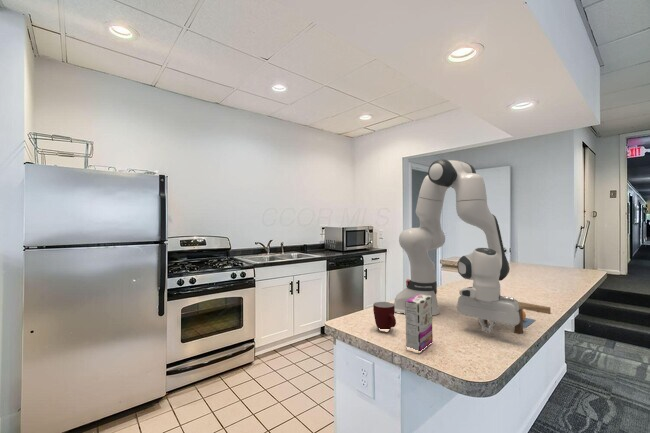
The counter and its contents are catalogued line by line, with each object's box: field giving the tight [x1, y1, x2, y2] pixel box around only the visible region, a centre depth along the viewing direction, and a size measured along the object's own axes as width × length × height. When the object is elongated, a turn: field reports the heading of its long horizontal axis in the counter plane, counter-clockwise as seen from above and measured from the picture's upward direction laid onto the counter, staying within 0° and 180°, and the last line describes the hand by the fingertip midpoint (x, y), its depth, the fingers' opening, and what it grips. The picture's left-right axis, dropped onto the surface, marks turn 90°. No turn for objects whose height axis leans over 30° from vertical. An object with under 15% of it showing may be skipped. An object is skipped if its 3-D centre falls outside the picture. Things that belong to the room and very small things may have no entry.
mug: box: [372, 301, 397, 330], centre depth 115 cm, size 10×8×10 cm
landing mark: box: [523, 317, 536, 329], centre depth 126 cm, size 13×13×1 cm
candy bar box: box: [404, 294, 434, 351], centre depth 101 cm, size 11×5×16 cm, turn 139°
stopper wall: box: [518, 301, 551, 315], centre depth 141 cm, size 2×16×2 cm, turn 41°
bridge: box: [478, 307, 524, 335], centre depth 117 cm, size 3×14×9 cm, turn 41°
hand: (487, 331), depth 109 cm, fingers closed
